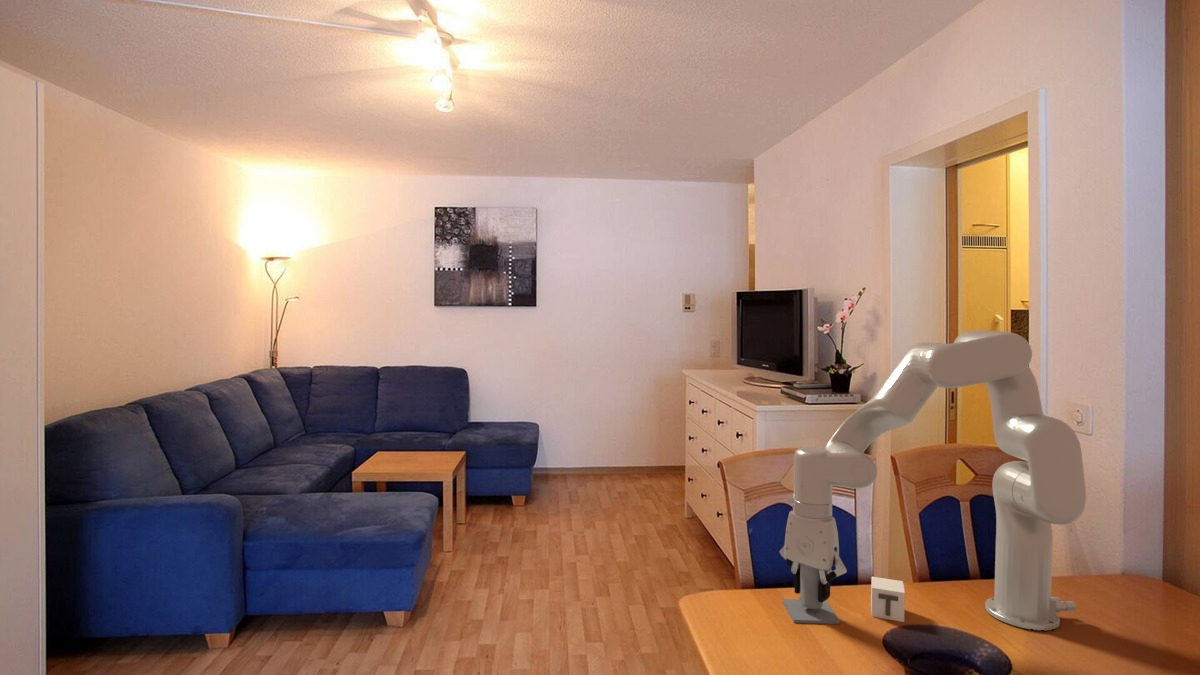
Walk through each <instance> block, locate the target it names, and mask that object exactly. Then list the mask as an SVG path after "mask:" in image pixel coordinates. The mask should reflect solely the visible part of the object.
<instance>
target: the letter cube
mask: <svg viewBox="0 0 1200 675" xmlns="http://www.w3.org/2000/svg"><path fill="white" fill-rule="evenodd" d="M870 581H871V583H870V584H871V587H870V589H871V591H870V592H871V593H870V595H871V596H870V610H871V613H870V614H871V617H874V618H879V619H885V620H891V621H895V622H901V623H902V622H903V623H905V600H906V597H905V596H906V595H905V594H906V591H905V586H904V581H903V580H898V579H897V580H896V579H890V578H883V577H876V576H871V580H870Z"/></svg>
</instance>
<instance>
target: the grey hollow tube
mask: <svg viewBox="0 0 1200 675" xmlns="http://www.w3.org/2000/svg"><path fill="white" fill-rule="evenodd" d="M819 582H821V578H820V574H819V570H818V569H815V568H812V567H809V566H806V565H803V564H800V593H799V600H800V603H801V605H803V606H804V607H807V608H811V609H818V608H821V607H822V606H823V602H822V603H821V602H819V601H818V583H819Z"/></svg>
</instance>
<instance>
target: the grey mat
mask: <svg viewBox="0 0 1200 675" xmlns="http://www.w3.org/2000/svg"><path fill="white" fill-rule="evenodd" d="M782 604H783V605H784V607H785V606H786V607H785V609H786V610H788V611H787V612H788V614H789V616H790V619H791V620H792V622H793V623H796V624H824V625H825V624H828V625H834V624H835V625H841V624H840V623H841V620H840V619H839V618H838V616H837V615H836V614H835V612H834V610H833V609H832V608H831V606H830V605H829V602H827V600H825V601H824V602H823V606H822V607H821V608H818V609H811V608H807V607H804V606H803V605H801V603H800V598H799V599H798V598H797V599H794V598H788V599H787V598H783V599H782Z"/></svg>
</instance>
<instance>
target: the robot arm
mask: <svg viewBox="0 0 1200 675" xmlns="http://www.w3.org/2000/svg"><path fill="white" fill-rule="evenodd" d="M1032 357H1033V350H1032V346H1031V345H1030V344H1029V342H1028V340H1027V339H1026V338H1024V337H1023V336H1021V335H1020V334H1018V333H1015V332H1010V331H998V330H997V331H996V330H980V329H979V330H968V331H966V332H963V333H960V334H959V335H957V337H956V338H955V339H954V341H953V343H936V342H920V343H915V344H914V345H912V346H911V347H909V348H908V349H907V351H906V352H905V353H904V355H903V356H902V358H900V360H899V361H898V362H897V364H896V365H895V367H894V368H893V370H892V371H891V373H890V374H888V377H886V379H885V380H884V382H883V383H882V385H881V386H880V388H879V389H878V390H877V391H876V393H875V394H874V395H873V396H872V397H871V399H869V400H868V401H867V402H866V403H864V404H863V405H862V406H860V407H859V408H858V409H857V410H855V411H854V412H853V413H852V414H851V415H849V416H848V417H847V418H846V419H845V420H844V421H843V422H842V424H840V426H839V427H838V428H837V430H836V431H835V432H834V434H833V435H832V436H831V438H829V441H828V442H827V443H826V445H825V446H824V448H821V447H816V446H814V447H813V446H804V447H803V446H802V447H799V448H798V449H796V450H795V452H794V454H793V497H789V498H788V502H787V503H788V504H790V505H792V510H790V511H789V513H788V517H787V520H786V521H787V522H786V526H785V527H786V528H785V536H784V545H783V546H782V548H780V550H779V554H780V556H781V557H782V558H783V559H784V560H785V561H786V563H787V565H788V566H789V568H790V570H791V573H792V574H793V587H794V593H795V594H796V595H800V564H803V565H806V566H809V567H812V568H815V569H818V570H819V574H820V578H821V582H819V583H818V601H819V602H821V603H822V602H824V601H825V600H826V601H827V600H828V599H829V598H830V597H831V581H833V580H835V579H836V578H837V577H840V576H842V575H844V574H846V573H847V571H848V569H847V567H846V566H845V564H844V563H843V560H842V559H841V557H840V546H839V545H840V543H839V542H840V541H839V532H838V528H837V527H838V526H837V523H836V519H835V517H834V516H833V487H834V486H835V487H842V488H848V489H854V490H855V489H857V490H858V489H859V490H860V489H865V488H867V487H869V486H871V485H872V484H873V483H874V482H875V481H876V478H877V476H878V468H877V464H876V462H875V461H874V459H873V458H872V457H871V456H869V455H868V454H866V453H865V451H866V450H867V449H868V447H869V446H870V444H872V443H873V442H874V441H875V440H876V439H877V438H878V437H880V436H881V435H883V434H885V433H887V432H890V431H893V430H897V429H900V428H903V427H905V426H907V425H909V424H911V423H912V422H913V421H914V419H915V418H916V417H917V415H918V414H919V412H921V410H922V408H923V407H924V406H925V404H926V403H927V402H928V400H929V399H930V397H931V396H932V394H934V392H935V391H936V389H937V388H942V389H956V388H963V387H970V386H975V385H981V384H984V385H985V386H986V389H987V393H988V397H989V401H990V402H989V403H990V409H991V418H992V420H991V421H992V427H993V428H992V429H993V436H994V441H995V443H996V446H997V447H998V448H999V450H1001V451H1002V452H1004V453H1006V454H1007V455H1009V456H1012V457H1014V458H1018V459H1020V460H1012V461H1008V462H1005V463H1003V464H1001V465H1000V466H999V467H998V468H997V469H996V471H995V472H994V475H993V477H992V481H991V482H992V486H991V487H992V488H991V489H992V495H993V500H994V501H993V502H994V507H995V514H996V515H995V518H996V521H995V522H996V525H995V528H996V529H995V530H996V531H995V533H996V534H995V558H994V559H995V562H994V564H995V565H994V595H993V597H990V598H988V599H986V601H984V603H985V604H984V605H985V606H984V608H985V610H986V612H987V613H988V614H989V615H990V616H992V617H994V618H995V619H997V620H999V621H1001V622H1002V623H1003V622H1004V623H1005V624H1008V625H1011V626H1014V627H1017V628H1021V629H1026V630H1031V629H1033V630H1032V631H1041V630H1044V631H1052V629H1053V630H1056V629H1058V628H1059V627H1060V622H1061V621H1060V620H1061V619H1060V617H1059V615H1058V614H1057V613H1060V612H1061V611H1063V612H1076V610H1077V606H1076V604H1075V602H1074V601H1073V600H1072V601H1071V600H1061V599H1060V598H1059V597H1058V596H1052V572H1053V571H1052V570H1053V565H1052V564H1053V545H1054V544H1053V543H1054V540H1053V539H1054V537H1053V536H1054V534H1053V527H1052V524H1053V525H1059V526H1064V525H1069V524H1072V523H1074V522H1076V521H1077V520H1078V519H1079V518H1080V517H1081V516H1082V515H1083V513H1084V510H1085V508H1086V503H1087V502H1086V501H1087V491H1086V481H1085V473H1084V472H1085V471H1084V464H1083V454H1082V447H1081V444H1080V443H1081V442H1080V441H1079V438H1078V435H1077V434H1076V432H1075V431H1074V429H1073V428H1072V427H1071V426H1070V425H1069V424H1067V423H1066V422H1064V421H1062V420H1061V419H1059V418H1055V417H1052V416H1050V415H1049V416H1048V415H1045V414H1044V412H1043V408H1042V403H1041V398H1040V397H1041V396H1040V390H1039V385H1038V382H1037V379H1036V377H1035V375H1034V372H1033V371H1032V370H1031V368H1030V366H1029V365H1030V363H1031V361H1032V359H1033V358H1032ZM1022 460H1023V461H1022ZM833 566H834V567H835V569H834V570H832V567H833Z"/></svg>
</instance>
